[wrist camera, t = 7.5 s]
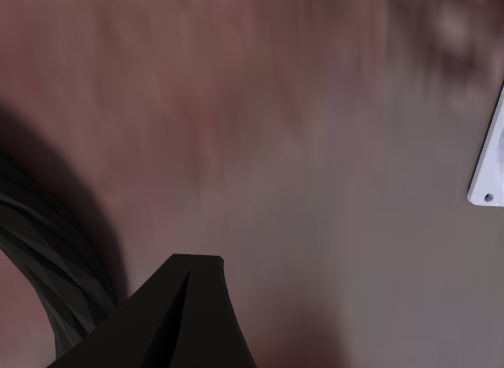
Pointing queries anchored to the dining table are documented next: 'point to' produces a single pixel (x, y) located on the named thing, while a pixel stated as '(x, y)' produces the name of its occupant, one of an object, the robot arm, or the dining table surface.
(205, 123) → the dining table surface
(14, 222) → the cable lock
